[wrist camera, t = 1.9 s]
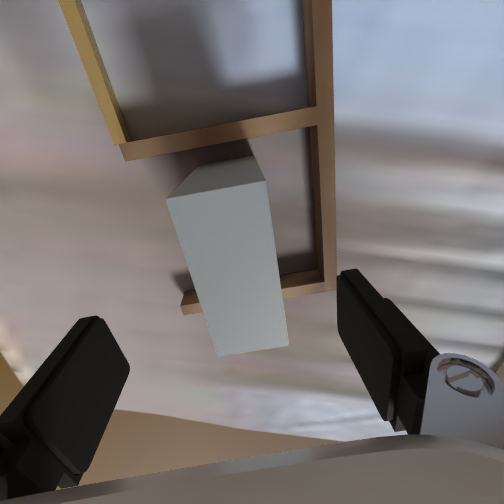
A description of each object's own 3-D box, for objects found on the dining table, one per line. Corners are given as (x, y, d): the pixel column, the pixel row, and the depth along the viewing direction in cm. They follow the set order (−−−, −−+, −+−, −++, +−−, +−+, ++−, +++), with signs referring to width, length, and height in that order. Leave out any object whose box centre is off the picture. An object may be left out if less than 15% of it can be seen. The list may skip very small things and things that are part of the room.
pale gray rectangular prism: (253, 155, 18) (265, 180, 10) (271, 264, 22) (289, 345, 14) (196, 165, 18) (161, 199, 10) (224, 272, 22) (215, 356, 14)
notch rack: (318, -227, 11) (340, -322, 9) (332, 276, 23) (343, 293, 20) (7, -153, 11) (-52, -224, 9) (179, 301, 23) (172, 321, 21)
